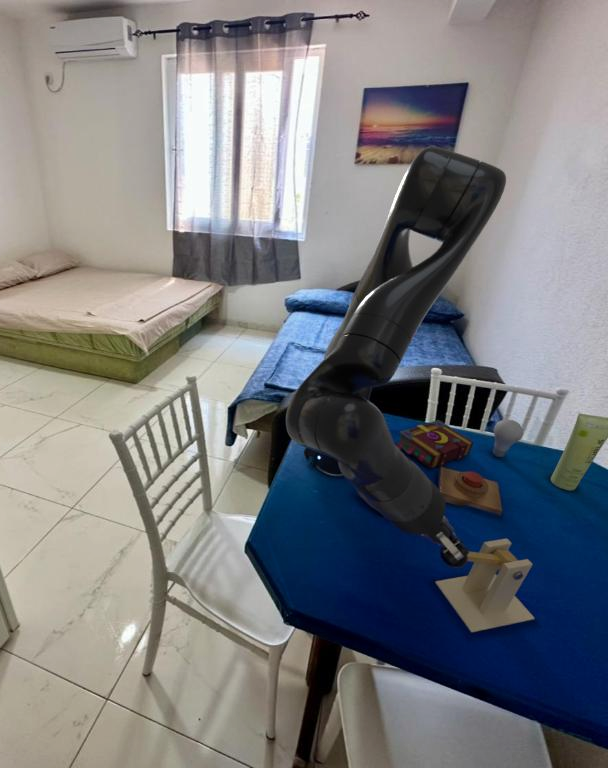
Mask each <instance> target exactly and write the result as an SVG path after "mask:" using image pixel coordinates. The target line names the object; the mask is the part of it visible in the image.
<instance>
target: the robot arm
mask: <svg viewBox="0 0 608 768" xmlns="http://www.w3.org/2000/svg"><path fill="white" fill-rule="evenodd" d="M506 185H507V175H506V173H505V171H503V170H502V169H501V168H500V167H497V166H495V165H494V164H491V163H488V162H486V161H483V160H482V161H481V160H479V159H476V158H474V157H473V158H472V157H470V156H467V155H465V154H462V153H458V152H455V151H451V150H449V149H446V148H443V147H438V146H428V147H425V148H424V149H422V150H421V151H420V152H419V153H417V155H416V156H415V157H414V158H413V160H412V161H411V163H410V164H409V166H408V167H407V169H406V171H405V173H404V175H403V177H402V178H401V181H400V183H399V186H398V188H397V191H396V194H395V195H394V198H393V202H392V204H391V206H390V208H389V211H388V215H387V217H386V220H385V223H384V225H383V228H382V231H381V234H380V236H379V239H378V242H377V244H376V246H375V248H374V249H375V250H374V251H373V254H372V256H371V258H370V260H369V263H368V264H367V267H366V268H365V271H364V272H363V274H362V276H361V278H360V281H359V282H358V284H357V286H356V288H355V291H354V293H353V296H352V298H351V300H350V303H349V306H348V308H347V310H346V314H345V315H344V318H343V320H342V322H341V323H340V325H339V327H338V328H337V330H336V332H335V333H334V335H333V336H332V338H331V340H330V341H329V343H328V346H327V348H326V350H325V352H324V357H323V360H322V361H320V363H319V364H318V365H317V366H316V367H315V368H314V369H313V370H312V371H311V372H310V374H309V375H308V376H307V377H306V378H305V379H304V380H303V381H302V383H301V384H300V385H299V386H298V388H297V389H296V390H295V392H294V393H293V395H292V396H291V398H290V400H289V403H288V406H287V409H286V413H285V427H286V431H287V434H288V436H289V437H290V439H291V440H292V441H293V442H295V443H296V444H297V445H299V446H301V447H304V450H303V456H304V457H305V460H306V461H310V460H311V458H312V462H311V467H312V468H316V470H317V471H319V472H320V473H321V474H323V475H325V476H328V477H333V478H345V479H346V480H347V482H348V483H349V484H350V485H351V486H353V487H354V488H355V490H356V489H357V490H358V491H359V492H360V493H361V494H363V495H364V496H365V498H366V499H367V500H368V502H369V503H370V504H371V505H372V506H373V507H374V508H375V509H376V510H375V509H374V508H373V509H374V510H375V511H377V512H378V513H380V515H382V516H383V517H384V518H385V519H386V520H387V521H388V522H390V523H391V524H392V525H393V526H394V527H395V528H396V529H398V530H399V531H400V532H403V533H405V534H408V535H414V536H417V535H418V536H419V535H420V536H422V538H424V539H428V540H429V541H430V542H431V543H432V544H433V545H437V544H438V546H440V547H444V548H443V552H444V553H445V555H446V557H447V559H448V561H449V562H452V564H454V563H456V562H457V561H459V560H460V559H462V558H463V557H464V556H466V555H467V554H469V552H470V551H469V552H468V550H469V549H468V547H466V546H465V544H464V542H463V541H462V540H461V539H459V537H458V536H457V535H456V533H455V528H454V527H453V526H452V525H451V524H450V523H449V522H450V520H449V519H448V518H447V517H446V516H445V513H446V502H445V500H444V497H443V495H442V493H441V492H440V490H439V489H438V486H437V485H436V484H435V483H434V482H433V481H432V480H431V479H430V478H429V477H428V475H426V474H425V472H424V471H423V470H422V469H421V468H420V467H419V465H418V464H416V463H415V462H414V461H413V460H411V459H410V458H408V456H406V454H405V453H404V452H403V450H402V449H401V450H400V449H399V448H398V447H397V445H395V444H396V443H395V442H394V440H393V435H392V433H391V431H390V428H389V425H388V423H387V421H386V418H385V416H384V414H383V413H382V411H381V410H380V409H379V408H378V407H377V406H376V405H375V404H374V403H373V402H372V401H370V398H371V394H372V390H373V388H377V387H382V386H384V385H386V384H388V383H389V382H390V381H391V380H392V378H393V377H394V376H395V373H396V372H397V370H398V369H399V366H400V364H401V362H402V360H403V358H404V356H405V355H406V352H407V351H408V349H409V347H410V344H411V343H412V341H413V339H414V337H415V335H416V333H417V331H418V329H419V327H420V326H421V324H422V323H423V320H424V319H425V317H426V316H427V314H428V312H429V311H430V310H431V308H432V306H433V305H434V304H435V302H436V300H437V299H438V298H439V296H440V295H441V293H442V292H443V290H444V289H445V288H446V286H447V285H448V284H449V283H450V281H451V279H452V278H453V276H454V275H455V273H456V272H457V271H458V270H459V267H460V266H461V265H462V263H463V261H464V260H465V258H466V257H467V255H468V254H469V253H470V251H471V249H472V248H473V246H474V245H475V243H476V241H478V239H479V237H480V235H481V234H482V233H483V231H484V229H485V227H486V226H487V225H488V223H489V221H490V219H491V217H492V216H493V214H494V212H495V211H496V210H497V207H498V205H499V203H500V201H501V200H502V196H503V194H504V191H505V188H506ZM411 231H412V232H414V233H417V234H419V235H422V236H425V237H427V238H429V239H431V240H436V241H438V242H440V243H441V245H440V246H439V247H438V248H436V250H435V251H433V253H432V254H431V255H428V257H427V258H425V259H424V260H422V261H421V262H419V263H418V264H416V265H413V261H412V257H411V253H410V252H411V251H410V235H411ZM357 490H356V491H357Z"/></svg>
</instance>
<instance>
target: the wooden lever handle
mask: <svg viewBox="0 0 608 768" xmlns="http://www.w3.org/2000/svg"><path fill="white" fill-rule="evenodd" d="M443 548H444V547H442V546H440V549H439V553H440V555H439V556H440V558H441V560H442V561H443V562H444V564H446V565H447V566H448V567H451V568H453V569H457V568H458V569H459V568H462V567H464V566H465V565H466V564H467V562H470V563H474V562H479V563H488V564H493V565H494V566H495V567H496V568H497V572H499V571H500V569H501V567H502V565H503V564H504V563H508V562H514V561H519V559H518V558H517V557H516V556H515V555H514V554H513V553H512V552H511V551H510V550H508V551H507V550H500V549H497V550H496V551H495V552H494V553H493V554H485V553H479V552H477V551H468V552H469V554H467V555H466V556H464V557H463V558H462V559H460V560H459V561H457V562H456V563H454V564H452V562H449V561H448V559H447V557H446V555H445V553H444V552H443Z"/></svg>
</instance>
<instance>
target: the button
mask: <svg viewBox="0 0 608 768" xmlns="http://www.w3.org/2000/svg"><path fill="white" fill-rule="evenodd" d="M465 472H466V473H465V475H464V478H463V482H464V483H465V484H467V485H468V486H471V487H474V488H479V487H480V486H481V484H482V482H483V479H484V478H483V476H482V475H480V474H479V473H478V472H475V471H465Z"/></svg>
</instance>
